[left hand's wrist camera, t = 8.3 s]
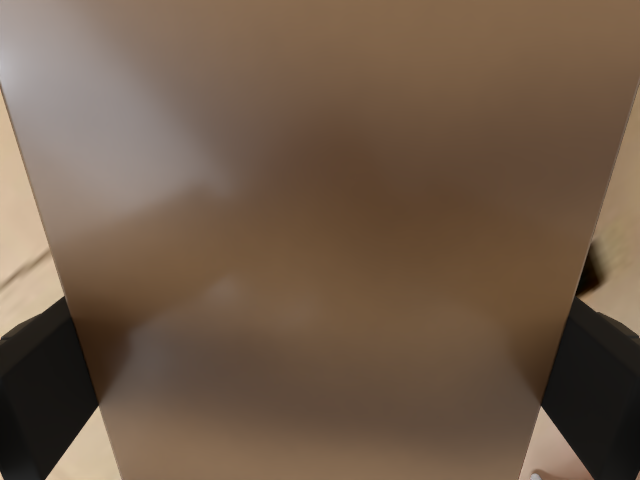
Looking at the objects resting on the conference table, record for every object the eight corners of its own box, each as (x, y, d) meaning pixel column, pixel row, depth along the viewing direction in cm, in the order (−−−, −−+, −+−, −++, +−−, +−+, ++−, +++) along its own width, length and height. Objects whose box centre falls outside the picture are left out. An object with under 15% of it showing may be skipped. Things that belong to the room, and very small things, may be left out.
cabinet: (127, -243, 11) (-379, -1110, 3) (510, -244, 11) (1013, -1116, 3) (206, 315, 18) (121, 486, 10) (433, 314, 18) (518, 485, 10)
